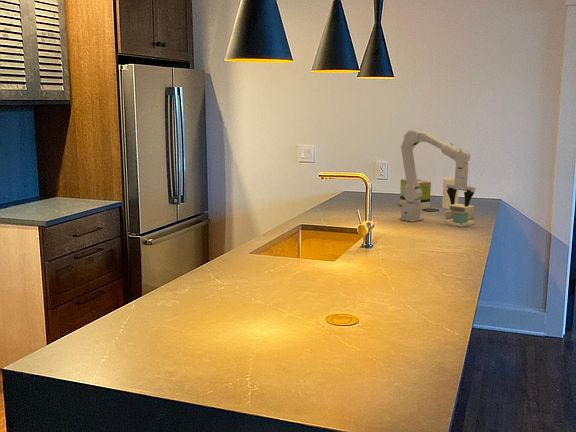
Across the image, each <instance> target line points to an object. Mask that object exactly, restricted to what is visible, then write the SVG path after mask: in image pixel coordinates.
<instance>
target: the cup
mask: <svg viewBox="0 0 576 432" xmlns="http://www.w3.org/2000/svg"><path fill="white" fill-rule="evenodd" d="M442 184H443V185H442V201H441V203H442V204H441V205H442V206H441V207H442V209H448V210H449V205H451V202H450V198H449V195H448V193H447V190H448V189H446V185H447V184H451V185H455V177H443V183H442ZM457 189H458V188H457ZM459 191H460V190H457V191H456V195H455V204H459Z"/></svg>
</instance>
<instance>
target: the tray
mask: <svg viewBox="0 0 576 432" xmlns="http://www.w3.org/2000/svg"><path fill="white" fill-rule="evenodd" d="M445 224H446V225H448V226H454V227H458V228H464V227H468V226H473V225H475V220H470V219H468V222H466V223H462V224H461V223H455V222H453V219H451V220H450V219H449V220H446V221H445Z"/></svg>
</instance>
